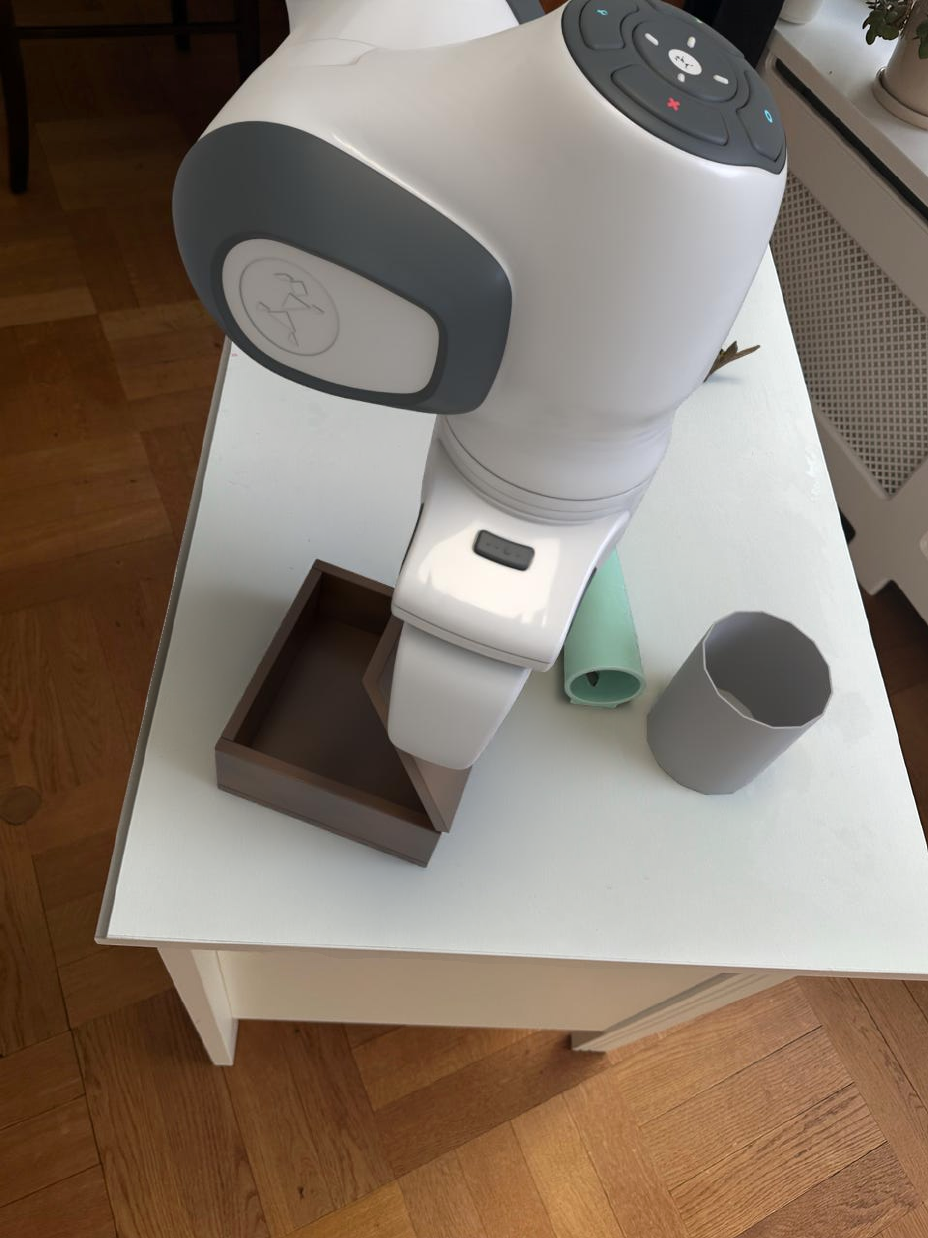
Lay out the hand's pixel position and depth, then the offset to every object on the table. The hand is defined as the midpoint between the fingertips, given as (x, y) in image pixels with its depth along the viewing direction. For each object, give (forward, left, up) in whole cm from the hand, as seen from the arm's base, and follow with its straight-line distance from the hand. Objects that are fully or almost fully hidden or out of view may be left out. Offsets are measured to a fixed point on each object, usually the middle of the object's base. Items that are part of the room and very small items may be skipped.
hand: (472, 640), depth 49 cm
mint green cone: (+5, +21, -14) cm, 26 cm away
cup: (+17, +9, -14) cm, 24 cm away
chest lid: (-1, 0, -2) cm, 2 cm away
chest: (-5, 0, -14) cm, 15 cm away
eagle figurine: (+9, +49, -14) cm, 51 cm away
